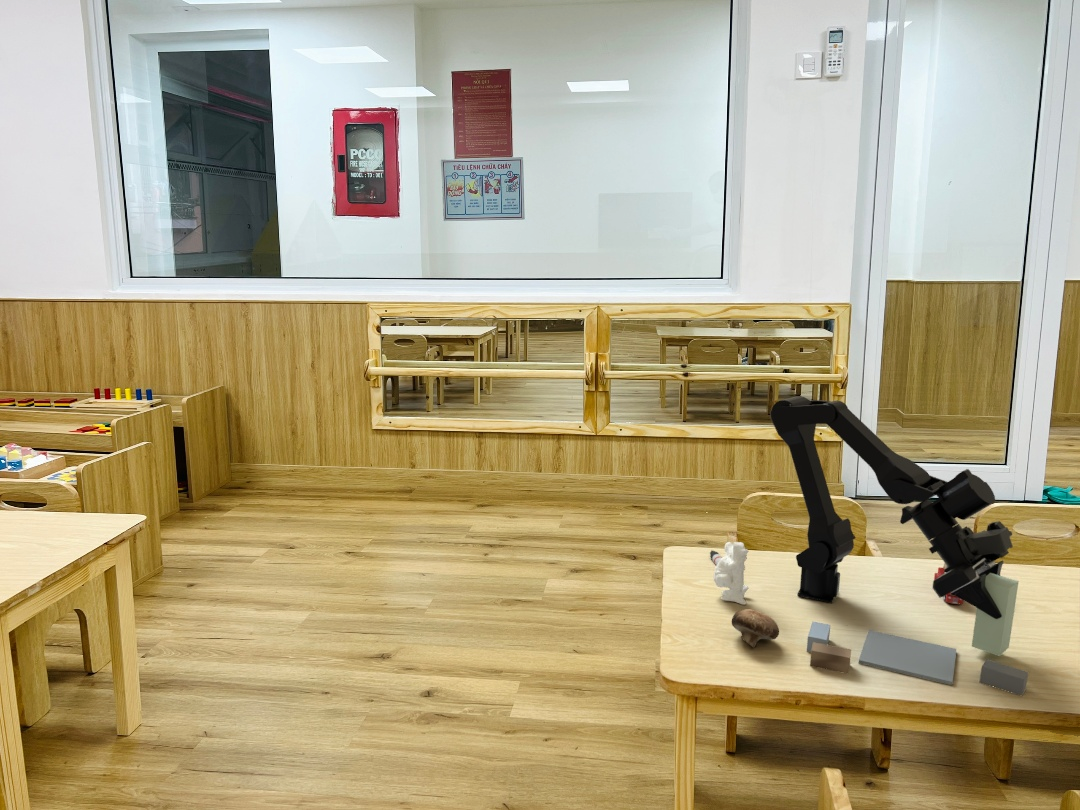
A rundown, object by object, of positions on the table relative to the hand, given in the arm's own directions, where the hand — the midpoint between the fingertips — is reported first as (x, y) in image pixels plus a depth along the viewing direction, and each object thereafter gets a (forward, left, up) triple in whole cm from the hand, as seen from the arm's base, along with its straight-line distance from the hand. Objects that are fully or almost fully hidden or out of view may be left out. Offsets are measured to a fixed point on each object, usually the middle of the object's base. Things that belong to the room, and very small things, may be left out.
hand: (1004, 613), depth 141 cm
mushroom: (-37, -15, -8) cm, 41 cm away
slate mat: (-13, -8, -8) cm, 17 cm away
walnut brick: (-24, -17, -8) cm, 31 cm away
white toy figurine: (-45, 0, -8) cm, 46 cm away
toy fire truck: (-9, +24, -8) cm, 27 cm away
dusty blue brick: (-27, -11, -8) cm, 30 cm away
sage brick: (-1, 0, -7) cm, 7 cm away
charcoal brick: (+1, -10, -8) cm, 13 cm away
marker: (-51, +13, -8) cm, 54 cm away
